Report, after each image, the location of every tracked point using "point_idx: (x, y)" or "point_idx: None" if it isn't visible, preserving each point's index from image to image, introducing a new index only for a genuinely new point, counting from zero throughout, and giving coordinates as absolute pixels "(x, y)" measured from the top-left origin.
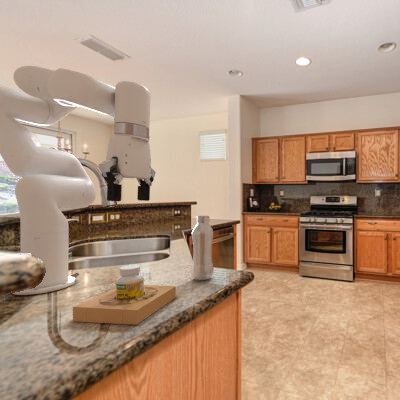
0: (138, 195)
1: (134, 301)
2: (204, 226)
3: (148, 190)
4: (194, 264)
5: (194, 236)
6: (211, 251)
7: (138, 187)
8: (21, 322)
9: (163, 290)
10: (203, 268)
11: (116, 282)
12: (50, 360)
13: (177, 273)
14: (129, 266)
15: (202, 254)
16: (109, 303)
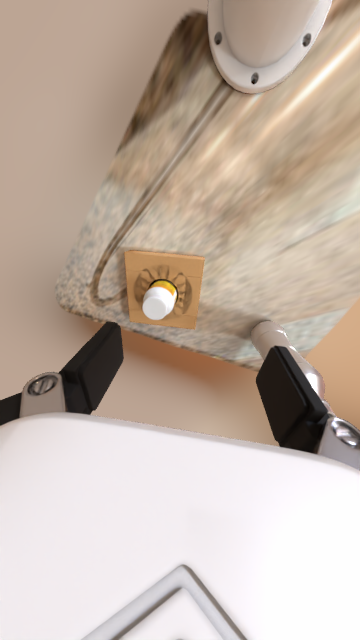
0: (277, 364)
1: None
2: None
3: (271, 423)
4: (262, 337)
5: None
6: None
7: (299, 402)
8: (117, 184)
9: (180, 322)
10: (254, 346)
11: (146, 292)
12: (80, 287)
13: (308, 283)
14: (158, 305)
15: (263, 358)
16: (138, 287)
